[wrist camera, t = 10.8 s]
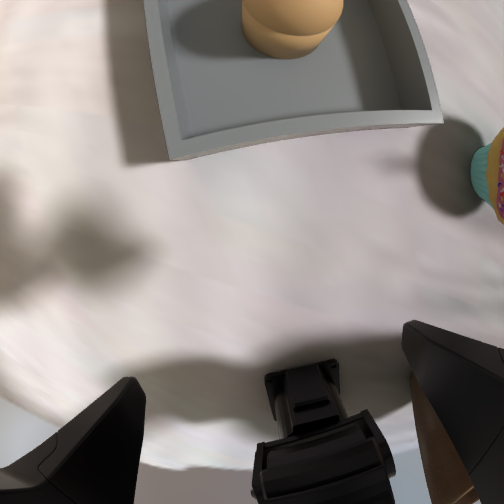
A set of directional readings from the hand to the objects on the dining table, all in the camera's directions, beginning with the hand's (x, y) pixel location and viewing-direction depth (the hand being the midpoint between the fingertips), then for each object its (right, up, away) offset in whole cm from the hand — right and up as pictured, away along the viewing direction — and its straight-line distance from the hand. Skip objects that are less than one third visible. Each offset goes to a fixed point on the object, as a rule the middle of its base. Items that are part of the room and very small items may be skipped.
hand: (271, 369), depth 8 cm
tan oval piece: (+1, +18, +6) cm, 19 cm away
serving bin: (+1, +19, +7) cm, 20 cm away
